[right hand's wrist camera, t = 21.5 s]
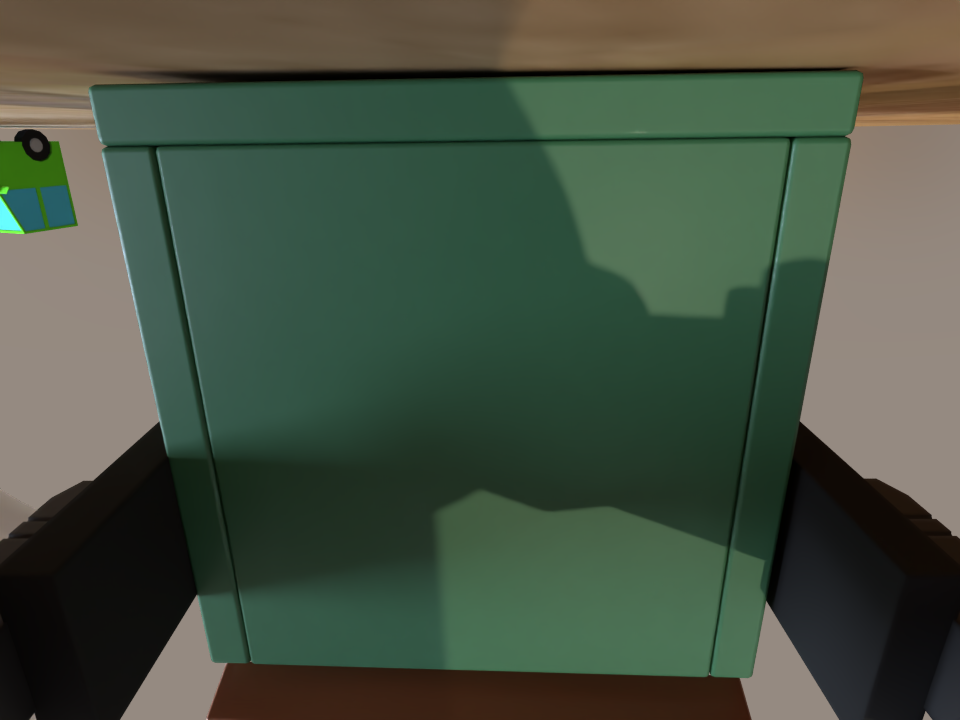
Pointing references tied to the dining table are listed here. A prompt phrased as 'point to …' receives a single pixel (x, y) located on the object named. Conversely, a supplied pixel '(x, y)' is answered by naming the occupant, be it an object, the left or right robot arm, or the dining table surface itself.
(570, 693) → the lid
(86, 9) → the dining table surface
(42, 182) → the toy car
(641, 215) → the chest
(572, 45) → the dining table surface
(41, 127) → the dining table surface
